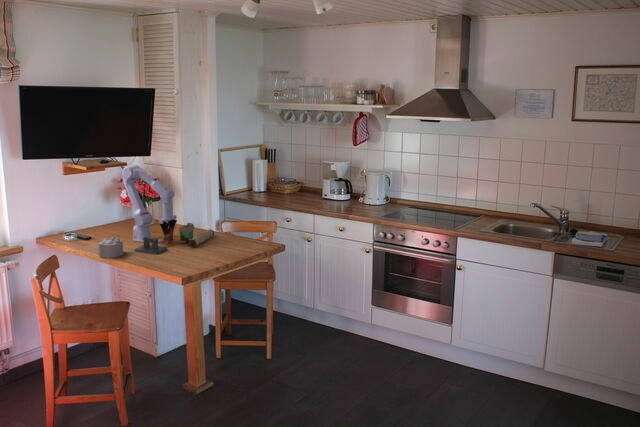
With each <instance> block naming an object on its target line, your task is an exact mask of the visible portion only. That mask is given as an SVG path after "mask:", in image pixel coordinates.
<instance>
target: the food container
mask: <svg viewBox="0 0 640 427" xmlns="http://www.w3.org/2000/svg"><path fill="white" fill-rule="evenodd" d="M194 229H195V224H194V223H191V222H187V224H186V225H183V226H182V227H180V226H179V229H178V231H179V238H180V245H181V244H183V245H184V244H185V245H188V241H189V239H192V238H194Z"/></svg>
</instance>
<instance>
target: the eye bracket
mask: <svg viewBox="0 0 640 427" xmlns="http://www.w3.org/2000/svg"><path fill="white" fill-rule="evenodd" d="M158 240H159V239H158V238H157V237H155V238H153V237H151V238H148V237H145V238H143V241H144V242H143V245H141V246H138V247H135V248H134V252H136V253H142V254H150V255H158V254H161V253H163V252H165V251H168V247H167V246H160V245H159V243H158Z"/></svg>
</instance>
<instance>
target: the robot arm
mask: <svg viewBox="0 0 640 427" xmlns="http://www.w3.org/2000/svg"><path fill="white" fill-rule="evenodd" d="M121 175H122V177H123V178H122V181H123V182H122V183H123V185H124V188H125V190H126V193H127V196H128V198H129V201H130V203H131V205H132V206H133V211H134V214H133V217H134V224H135V225H134V226H133V228H132V234H133V235H132V236H133V239H132V241H133V242H138V243H139V242H141V243H144V241H143V238H145V237H148V238H152V237H151V236H152V235H151V225H152V224H151V223H152V222H153V215H152V214H151V213H150V212H149V210H148V209H147V208H145V206H144V204H143V201H142V199H141V197H140V195H139V191H138V189H137V187H136V185H135V181H136V179H140V180H142V181H144V182H145V183H147V184H148V185H149V186H150V188H151V189H152V191H154V192H155V193H156V194H158V195H159V197H160V199H161V202H162V217H161V219H158V225H159V226H160V227H161V228H160V229H162V233H163V235H164V234H165V235H167V234H168V227H171V228H173V232H174V230H175V228H176V227H175V226H176V223H177V222H178V220H177V218H178V216H177V215H176V214H174V202H173V201H174V200H173V198H174V197H175V192H174V190H173V189H172V188H170V187H169V188H168V187H167V186H166V185H164V184H162V182H161V181H160V180H155V179H153V177H151V176H150V175H149V173H147V172H145V171H144V169H143V168H142V167H141V166H139V165H137V164H133V165H130V166H124V168H123V170H122V172H121Z"/></svg>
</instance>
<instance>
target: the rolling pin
mask: <svg viewBox="0 0 640 427" xmlns="http://www.w3.org/2000/svg"><path fill="white" fill-rule="evenodd" d="M214 236H215V231H214V230H213V229H211V228H209V229H206V230H205V231H203V232H202V233H200V234H198V235H196V236H194V237H193V238H192V239H189V241H188V243H187V247H189V248H195V247H197V246H199V245H201V244H202V243H204V242H205V241H208V240H209V239H211V238H212V237H214Z"/></svg>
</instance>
